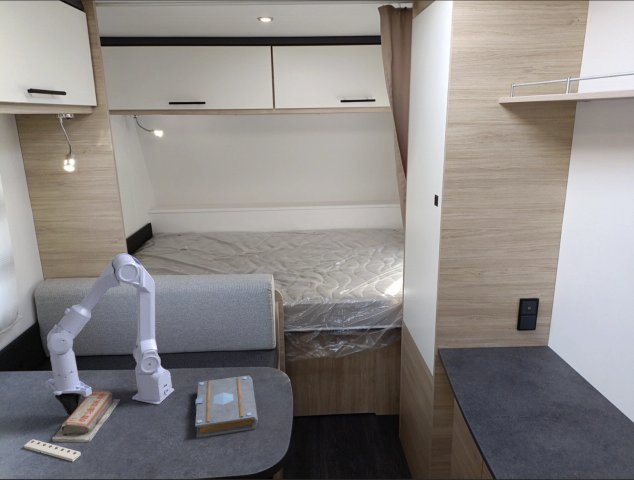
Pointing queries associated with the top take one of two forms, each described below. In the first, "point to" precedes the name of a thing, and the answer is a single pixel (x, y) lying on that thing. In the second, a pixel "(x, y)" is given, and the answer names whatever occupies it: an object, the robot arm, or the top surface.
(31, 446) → the perforated board
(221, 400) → the book
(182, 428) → the top surface
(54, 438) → the packaged product
